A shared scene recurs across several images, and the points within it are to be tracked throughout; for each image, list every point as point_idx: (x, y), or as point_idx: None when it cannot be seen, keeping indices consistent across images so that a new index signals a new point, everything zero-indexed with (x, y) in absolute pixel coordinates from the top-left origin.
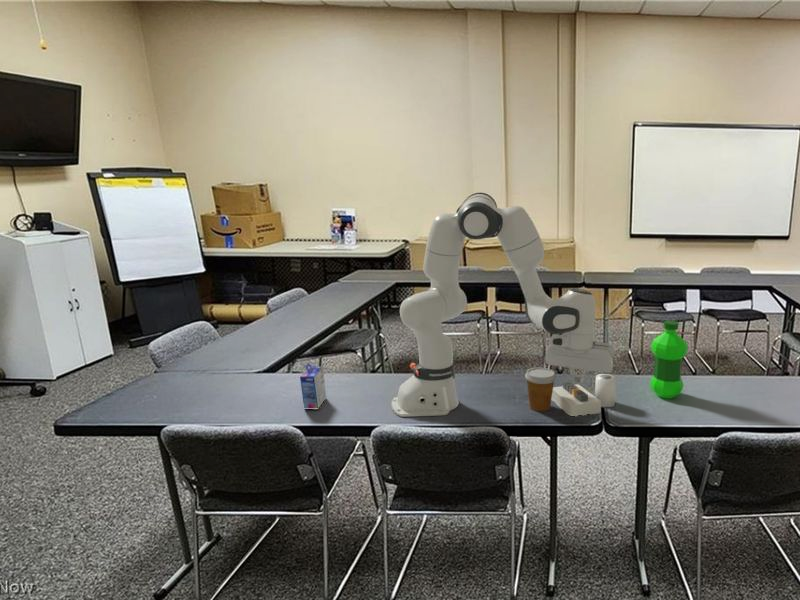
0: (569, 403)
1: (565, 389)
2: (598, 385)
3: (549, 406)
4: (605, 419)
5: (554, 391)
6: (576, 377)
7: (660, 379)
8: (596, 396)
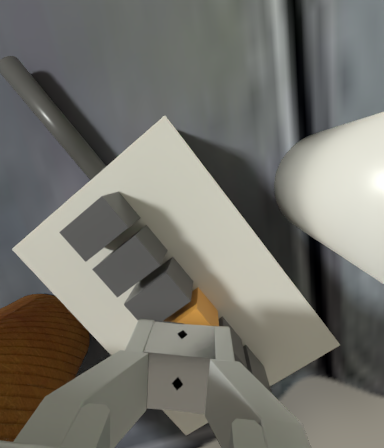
0: (174, 422)
1: (106, 246)
2: (351, 262)
3: (84, 352)
4: (332, 356)
5: (54, 292)
6: (167, 402)
7: None
8: (298, 224)
